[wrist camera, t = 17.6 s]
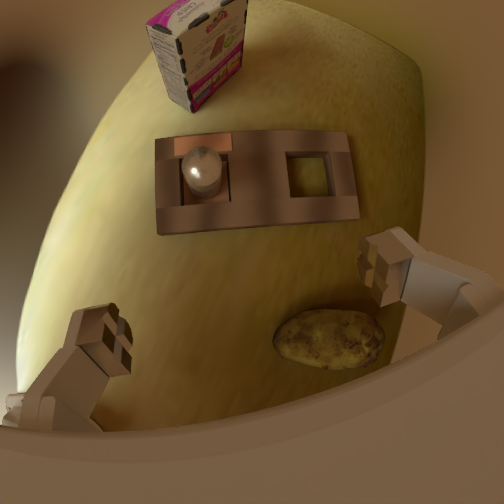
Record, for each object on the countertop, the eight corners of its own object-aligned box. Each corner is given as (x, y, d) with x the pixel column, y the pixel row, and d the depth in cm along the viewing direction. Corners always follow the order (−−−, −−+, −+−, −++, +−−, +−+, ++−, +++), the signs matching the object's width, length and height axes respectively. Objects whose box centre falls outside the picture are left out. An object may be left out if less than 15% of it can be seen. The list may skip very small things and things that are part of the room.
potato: (287, 286, 36) (304, 293, 28) (369, 314, 37) (401, 325, 29) (264, 346, 36) (275, 368, 28) (348, 368, 37) (374, 390, 29)
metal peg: (191, 201, 35) (183, 186, 27) (188, 171, 35) (180, 149, 27) (222, 197, 36) (223, 181, 28) (219, 167, 36) (219, 144, 28)
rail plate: (161, 235, 35) (156, 233, 32) (158, 146, 35) (154, 138, 32) (352, 221, 37) (360, 218, 35) (339, 138, 38) (346, 131, 35)
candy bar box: (216, 53, 36) (217, -26, 20) (242, 67, 36) (253, -13, 20) (166, 99, 35) (142, 21, 19) (192, 115, 36) (178, 36, 19)
